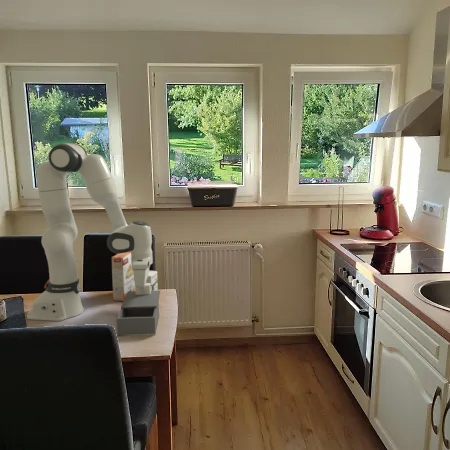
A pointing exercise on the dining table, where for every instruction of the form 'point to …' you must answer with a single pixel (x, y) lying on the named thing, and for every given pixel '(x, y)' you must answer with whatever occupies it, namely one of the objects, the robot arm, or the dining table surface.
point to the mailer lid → (141, 298)
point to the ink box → (152, 280)
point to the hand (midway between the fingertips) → (143, 290)
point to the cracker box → (122, 276)
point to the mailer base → (137, 321)
